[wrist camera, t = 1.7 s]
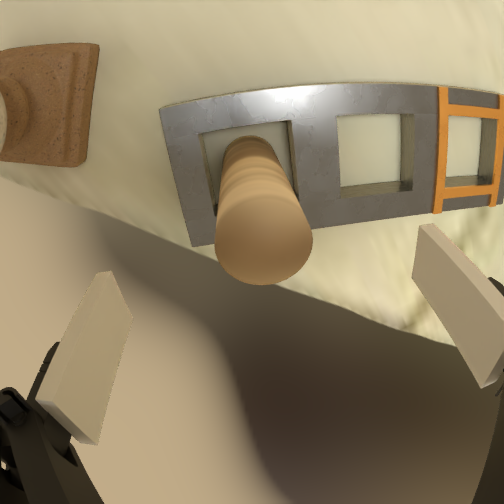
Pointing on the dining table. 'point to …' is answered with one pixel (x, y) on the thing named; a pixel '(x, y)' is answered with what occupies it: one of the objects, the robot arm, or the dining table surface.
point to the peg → (259, 216)
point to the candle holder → (46, 103)
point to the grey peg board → (327, 152)
